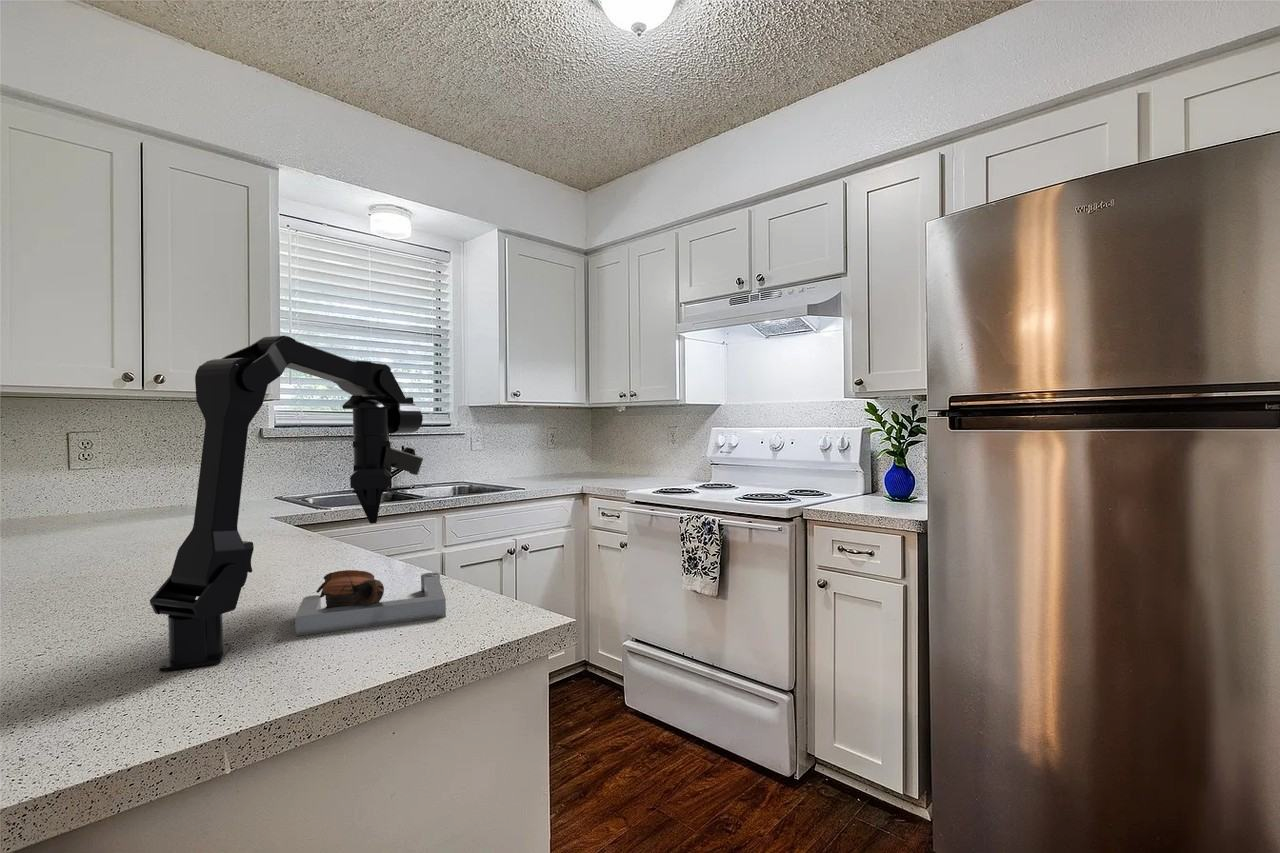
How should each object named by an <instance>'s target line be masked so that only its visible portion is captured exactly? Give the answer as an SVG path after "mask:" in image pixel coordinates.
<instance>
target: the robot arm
mask: <svg viewBox="0 0 1280 853" xmlns="http://www.w3.org/2000/svg"><path fill="white" fill-rule="evenodd" d="M286 368H287V369H289V370H293V371H297V372H299V373H303V374H307V375H310V376H313V377H316V378H319V379H323V380H327V381H329V382H332V383H334V384H336V385H337V386H338V387H339V388H340V390H342V391H344V392H345V393H348V394H349V395H351V396H350V398H349V399H348V400H347V401H346V402H344V403H343V404H342V407H341V408H342V409H343V410H352V429H353V430H352V432H353V433H352V434H353V441H352V448H353V472H352V474H351V475H350V477H349V480H350V489H353V490H354V493H355V494H356V497H357V500H358V501H359V504H360V505H361V507H362V509H363V511H364V514H365V516H366V519H367V521H368V523H369V524H370V525H371V524H377V521H378V516H379V511H380V506H381V500H382V495H383V494H384V492H386V491H387V490H388V489H389V488H390V487H392V482H393V481H392V473H391V472H392V468H395V469H398V470H401V471H405V472H408V473H409V474H411V475H415V476H418V475H419V472H420V470H421V467H422V463H423V460H424V458H423V456H420V455H416V451H415V450H416V449H415V448H412V447H408V446H406V447H405V448H403V450H400V449H395V448H393V447H392V445H391V444H392V442H391V440H390V439H389V438H390V437H389V436H390V435H392V434H408V433H409V434H412V433H416V432H417V431H418V430H419V429H420V428H421V427H422V424H423V414H422V411H421V410H420V407H419V406H418V405H417V404H416V403H414V397H413V396H410V397H409V396H408V397H407V396H405V393H404V392H403V391H402V390H403V389H401V386H400V385H399V383H398V381H397V379H396V378H395V376H394V374H393V372H392V368H391V367H390V366H389V365H387V364H386V363H385V362H384V363H383V362H375V361H368V360H367V361H365V360H355V359H354V360H353V359H349V358H346V357H343V356H341V355H339V354H338V355H337V354H335V353H332V352H329V351H326V350H323V349H320V348H317V347H315V346H313V345H312V346H311V345H309V344H306V343H304V342H300V341H298V340H296V339H294V338H293V337H290V336H288V335H275V336H273V335H272V336H265V337H262V338H261V339H259V340H257V341H255V342H253V343H252V344H251V345H247V346H246V347H244V348H241V349H239V350H237V351H235V352H232V353H230V354H227V355H226V356H224V357H222V358H217V359H216V358H213V359H210V360H207V361H205V362H204V363H202V364H201V365H199V366H198V368H197V369H196V373H195V375H194V382H195V398H196V399H195V400H196V404H197V405H198V407H199V409H200V411H201V413H202V416H203V419H204V423H205V424H204V425H205V426H204V433H203V434H204V435H203V442H202V451H201V459H200V468H199V476H198V482H197V483H198V485H197V492H196V493H197V494H196V500H195V510H194V518H193V525H192V526H193V527H192V528H191V531H190V532H189V533H188V535H186V536H187V537H186V538H185V539H184V541H183V542H182V544H180V546H179V548H178V549H177V552H176V557H175V560H174V562H173V566H172V568H171V569H172V570H171V573H170V576H168V578H167V579H166V580H165V581H164V583H162V585H161V586H160V588H158V590H157V591H156V592H155V593H154V595H153V596H152V597H151V598H150V600H149V604H150V606H151V608H152V610H153V612H154V614H156V615H166V616H167V622H168V627H167V628H168V650H169V651H168V652H169V653H168V654H169V655H168V657H167V658H166V659H165V660H164V661H162V662H163V663H162V664H160V665H159V667H158V670H159V672H168V671H173V670H181V669H186V668H187V669H189V668H195V667H201V666H203V667H204V666H209V665H216V664H219V663H221V662H222V661H223V660H224V658H225V657H226V655H227V654H228V652H229V651H230V649H231V648H232V643H231V642H226V643H224V633H223V631H224V629H223V627H224V626H223V625H224V624H223V614H227V613H229V612H233V611H235V610H236V608H237V606H238V601H239V598H240V594H241V591H242V588H243V587H244V586H245V584H246V582H247V578H248V574H249V573H252V572H253V568H252V557H253V552H254V548H255V547H254V542H252V541H247V540H243V539H242V537H241V535H240V533H239V530H238V523H239V513H240V506H241V496H242V489H243V488H242V487H243V477H244V470H245V469H244V467H245V459H246V451H247V442H248V433H249V427H250V423H251V422H252V420H253V419H254V418H255V416H256V415H257V414H258V412H259V410H260V409H261V408H262V407H263V404H264V402H265V398H266V394H267V390H268V387H269V385H270V384H271V383H273V382H274V381H275V380H277V379H278V378H280V377H281V376H282V375H283V373H284V372H285V370H286ZM389 434H390V435H389Z"/></svg>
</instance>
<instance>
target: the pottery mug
mask: <svg viewBox="0 0 1280 853" xmlns="http://www.w3.org/2000/svg"><path fill="white" fill-rule="evenodd" d="M323 580H324V582H322V584H320V586H319V587H318V588H317V590H316V591H315V593H316V594H318V593H320V595H319V596H320V597H321V598H324V597H325V604H326V606H325V607H323V608H322V609H326V608H335V607H343V606H352V605H360V604H369V603H377V602H381V600H382V599H383V596H384V593H385V587H384V584H383V582H381V580H377V579H375V575H374V574H372V573H371V572H368V571H366V570H365V571H364V570H357V569H350V570H349V569H348V570H347V569H345V570H337V571H334V572H330V573H327V574H326V575H324V576H323Z"/></svg>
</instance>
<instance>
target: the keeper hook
mask: <svg viewBox="0 0 1280 853" xmlns="http://www.w3.org/2000/svg"><path fill="white" fill-rule="evenodd" d="M440 576H441V573H439V572H426V573H423V574H421V575H420V589H421V590H420V591H421V593H423V594H424V595H423V596H421V597H414V598H412V597H411V598H403V599H394V600H388V601H387V600H386V601H379V602H377V603H369V604H360V605H352V606H343V607H335V608H326V609H323V608H322V607H321V606H322V605H321V604H322V603H321V601H322V600H321V599H322V597H320V595H318V594H317V595H309V596H308V595H307V596H305V597H303V598H302V600H301V603H300V604H299V605H300V606H299V607H298V609H297V611H296V614H295V617H294V619H295V620H294V622H295V623H294V624H295V626H294V627H295V628H294V629H295V637H301V636H306V635H307V636H308V635H316V634H324V633H331V631H332V632H339V631H345V630H346V631H347V630H353V629H361V628H368V627H376V626H377V627H378V626H384V625H392V624H398V623H399V624H400V623H401V624H402V623H406V622H408V623H409V622H414V621H415V622H416V621H423V620H430V619H431V620H432V619H438V618H445V617H447V602H446V596H445V593H444V590H443V587H442V583H441V577H440ZM323 632H324V633H323ZM300 635H301V636H300Z"/></svg>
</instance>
